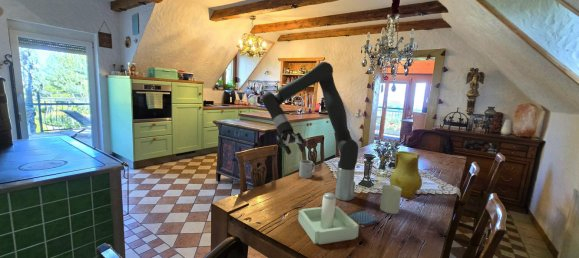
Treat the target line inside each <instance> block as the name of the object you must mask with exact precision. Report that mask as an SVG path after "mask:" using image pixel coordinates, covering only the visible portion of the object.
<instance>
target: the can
mask: <svg viewBox="0 0 579 258" xmlns="http://www.w3.org/2000/svg"><path fill="white" fill-rule="evenodd" d="M381 188H382V189H381V198H380V206H379V209H380V210H381V211H382V212H385V213H387V214H392V215H393V214H394V215H395V214H399V212H400V203H401V198H402V196H401V191H402V189H401V188H399V187H397V186H394V185H390V184H383V185H382V186H381Z"/></svg>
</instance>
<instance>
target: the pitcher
mask: <svg viewBox="0 0 579 258" xmlns="http://www.w3.org/2000/svg"><path fill="white" fill-rule="evenodd" d="M420 156H421V154H420V153H417V152H412V151H405V150H398V151H396V152H395V157H394V159H395V161H394V165H395V167H394V168H395V169H394V170H393V171H392V173H391V174H390V178H389V179H390V180H389V185H394V186H397V187H399V188H401V189H402V191H401V198H406V199H413V198H415V197H416V195H415V194H416V193H417V191H419V190H421V188H422V186H423V185H422V184H423V180H422V177H421V174H420V173H419V171H420V170H419V159H420Z"/></svg>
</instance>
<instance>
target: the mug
mask: <svg viewBox="0 0 579 258" xmlns="http://www.w3.org/2000/svg"><path fill="white" fill-rule="evenodd" d="M298 170H299V174H298V176H299V177H300V178H302V179H311V178H312V177H313V174H314V173H315V171H316V164H315V163H314V162H313V161H312V160H309V159H301V160H300V161H299V169H298Z"/></svg>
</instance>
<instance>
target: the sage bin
mask: <svg viewBox="0 0 579 258" xmlns="http://www.w3.org/2000/svg"><path fill="white" fill-rule="evenodd" d="M321 211H322V206H318V207H311V208H310V207H309V208H301V209H300V210H298V223H299V224H300V226H301V227H302V228H303V230H304V231H305V233H306V234H307V236H308V237H309V238H310V239H311V241H312V243H313V244H316V245H317V244H318V245H324V244H326V245H327V244H331V243H337V242H344V241H350V240H356V238H358V237H359V228H360V224H358V223H357V222H355V221H353V220H352V219H351V218H350V217H349V216H348V215H349V214H347V213H346V212H345V211H343V209H341V208H340V207H339V206H337V205H335V212H334V222H333V228H330V229H323V228H321V226H320V221H321Z"/></svg>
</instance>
